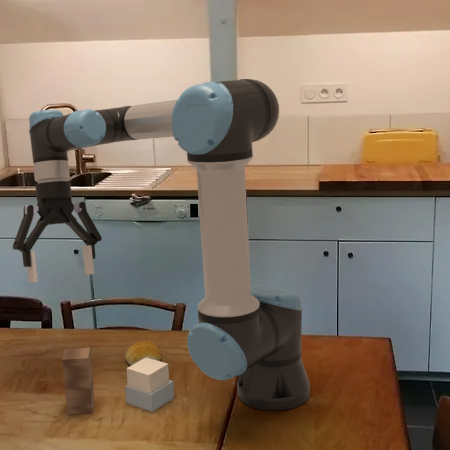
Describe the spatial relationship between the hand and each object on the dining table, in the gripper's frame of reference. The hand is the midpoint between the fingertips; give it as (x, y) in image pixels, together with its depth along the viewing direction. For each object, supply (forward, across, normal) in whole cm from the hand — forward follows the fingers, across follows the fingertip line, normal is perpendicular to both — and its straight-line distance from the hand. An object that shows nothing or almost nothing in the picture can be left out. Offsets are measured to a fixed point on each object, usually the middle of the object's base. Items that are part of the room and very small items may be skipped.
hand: (62, 278), depth 155 cm
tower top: (+23, -7, +19) cm, 31 cm away
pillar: (+26, +4, +11) cm, 29 cm away
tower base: (+27, -8, +18) cm, 33 cm away
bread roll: (+22, -18, +2) cm, 28 cm away
